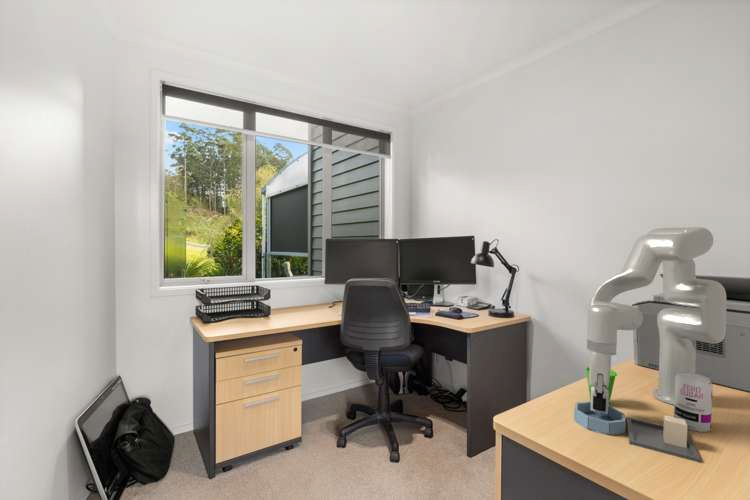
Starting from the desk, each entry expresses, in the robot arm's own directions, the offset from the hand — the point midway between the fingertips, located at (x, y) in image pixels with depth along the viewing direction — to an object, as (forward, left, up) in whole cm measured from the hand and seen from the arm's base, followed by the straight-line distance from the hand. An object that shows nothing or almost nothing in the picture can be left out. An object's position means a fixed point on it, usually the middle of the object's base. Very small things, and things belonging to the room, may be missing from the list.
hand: (599, 406), depth 106 cm
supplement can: (-13, +23, -5) cm, 27 cm away
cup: (-15, 0, -5) cm, 16 cm away
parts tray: (+2, +14, -4) cm, 15 cm away
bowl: (+2, 0, -4) cm, 5 cm away
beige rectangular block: (+2, +17, -4) cm, 18 cm away
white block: (0, 0, -1) cm, 1 cm away
